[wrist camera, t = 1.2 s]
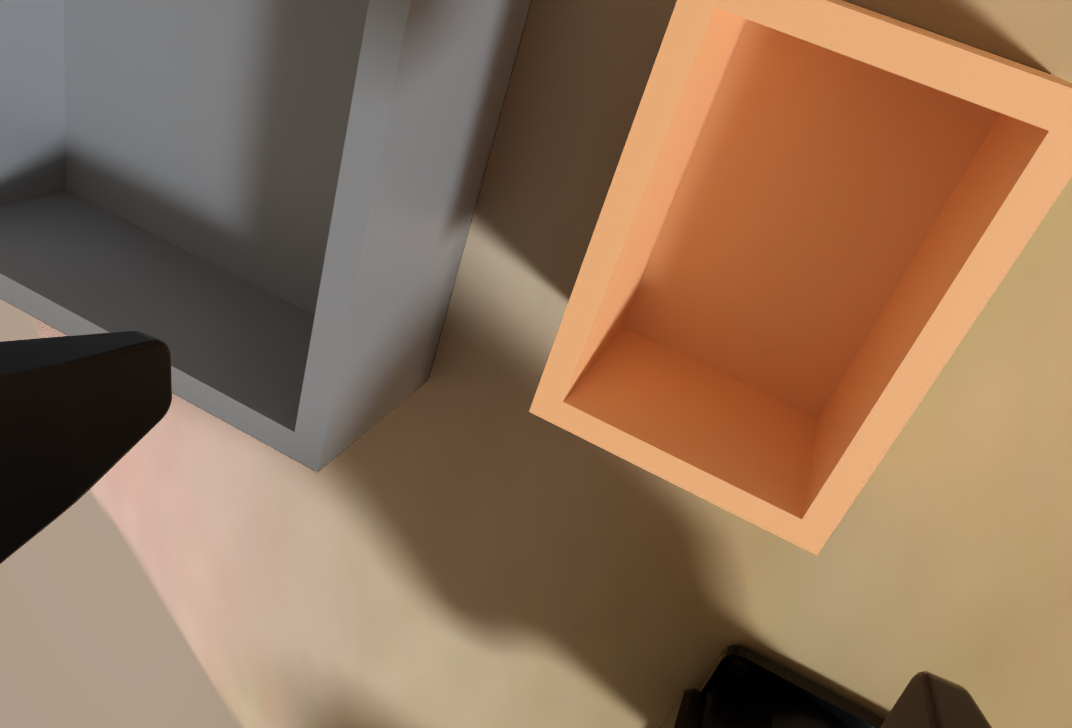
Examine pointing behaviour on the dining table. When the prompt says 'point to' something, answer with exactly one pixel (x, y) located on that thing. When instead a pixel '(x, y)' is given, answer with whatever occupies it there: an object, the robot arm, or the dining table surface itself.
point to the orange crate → (798, 249)
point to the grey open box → (252, 190)
